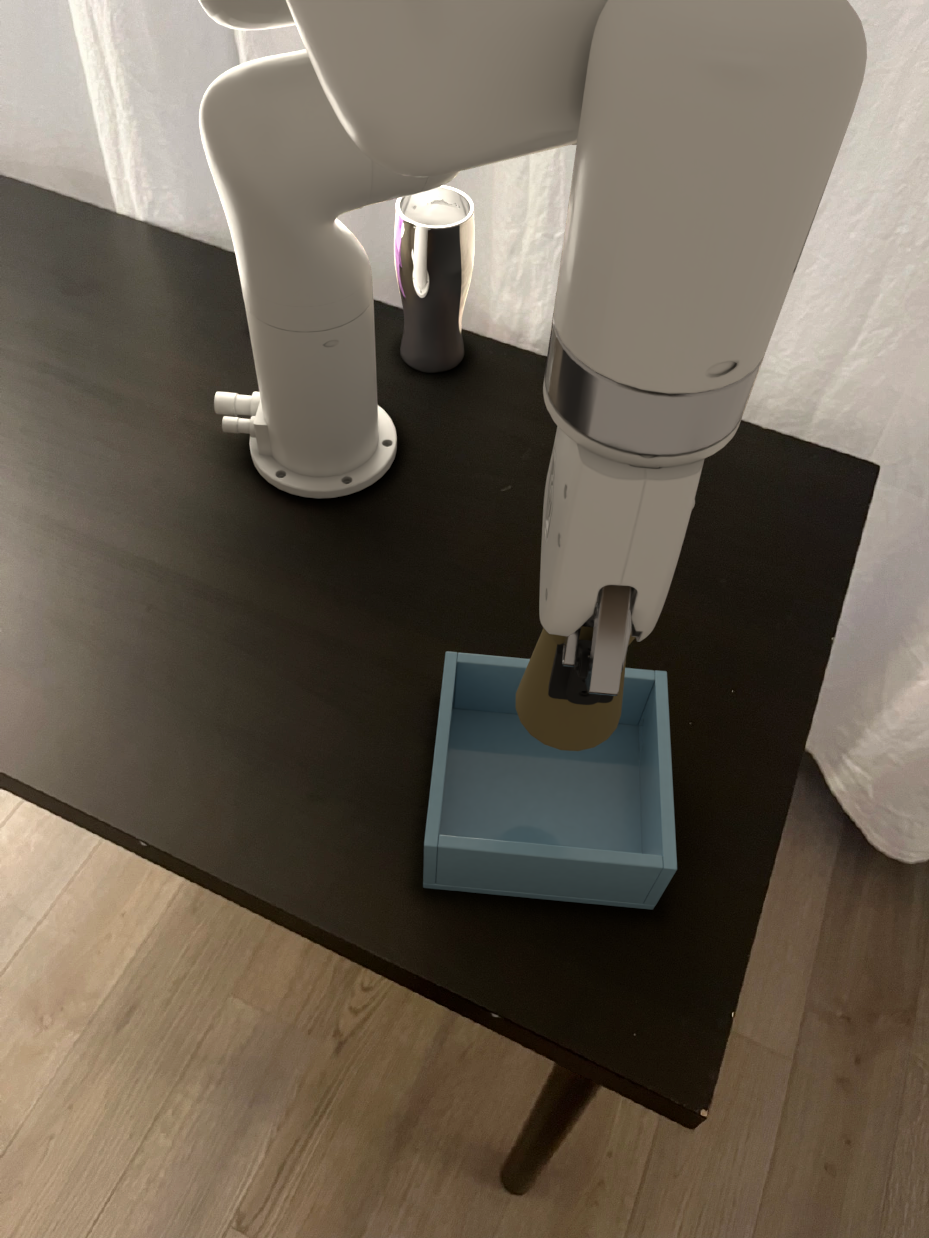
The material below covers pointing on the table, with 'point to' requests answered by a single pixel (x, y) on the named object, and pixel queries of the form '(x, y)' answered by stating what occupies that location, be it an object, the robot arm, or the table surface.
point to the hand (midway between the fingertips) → (580, 645)
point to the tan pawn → (563, 703)
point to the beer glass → (434, 274)
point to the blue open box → (548, 795)
